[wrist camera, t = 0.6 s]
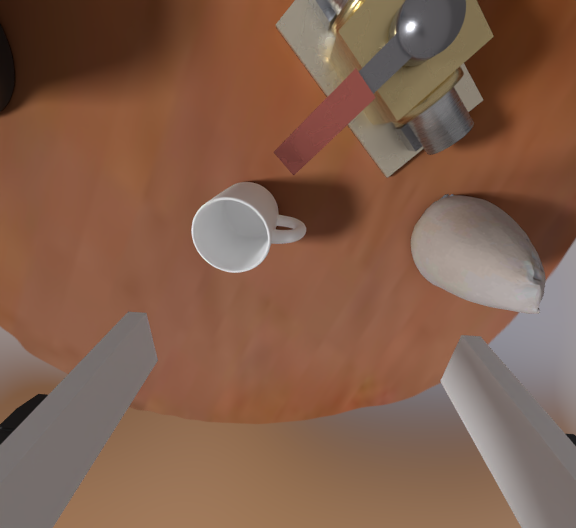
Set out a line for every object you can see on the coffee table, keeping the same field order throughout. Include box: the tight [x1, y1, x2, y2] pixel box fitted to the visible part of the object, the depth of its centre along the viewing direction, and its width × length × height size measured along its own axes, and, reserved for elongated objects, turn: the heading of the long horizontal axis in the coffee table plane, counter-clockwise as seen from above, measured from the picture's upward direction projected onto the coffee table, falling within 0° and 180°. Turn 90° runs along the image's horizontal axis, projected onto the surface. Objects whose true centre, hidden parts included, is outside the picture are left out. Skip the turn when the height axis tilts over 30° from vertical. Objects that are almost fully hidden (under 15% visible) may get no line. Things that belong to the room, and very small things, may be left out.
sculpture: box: [411, 194, 545, 314], centre depth 30 cm, size 13×12×15 cm
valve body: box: [276, 0, 494, 178], centre depth 24 cm, size 20×12×10 cm, turn 43°
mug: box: [192, 182, 306, 273], centre depth 32 cm, size 12×8×10 cm
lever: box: [274, 0, 466, 175], centre depth 20 cm, size 15×4×3 cm, turn 133°
